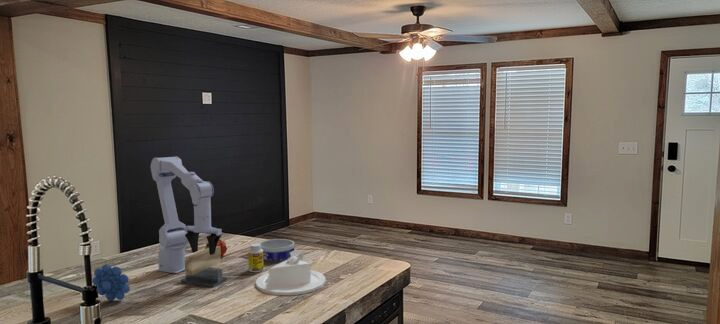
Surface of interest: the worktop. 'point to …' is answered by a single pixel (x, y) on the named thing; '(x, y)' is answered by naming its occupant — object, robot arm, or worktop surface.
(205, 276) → the balance ridge
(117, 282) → the grapes
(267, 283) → the dish
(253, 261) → the supplement bottle
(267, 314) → the worktop surface
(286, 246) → the dog bowl
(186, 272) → the maple bar
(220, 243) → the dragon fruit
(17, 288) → the worktop surface
